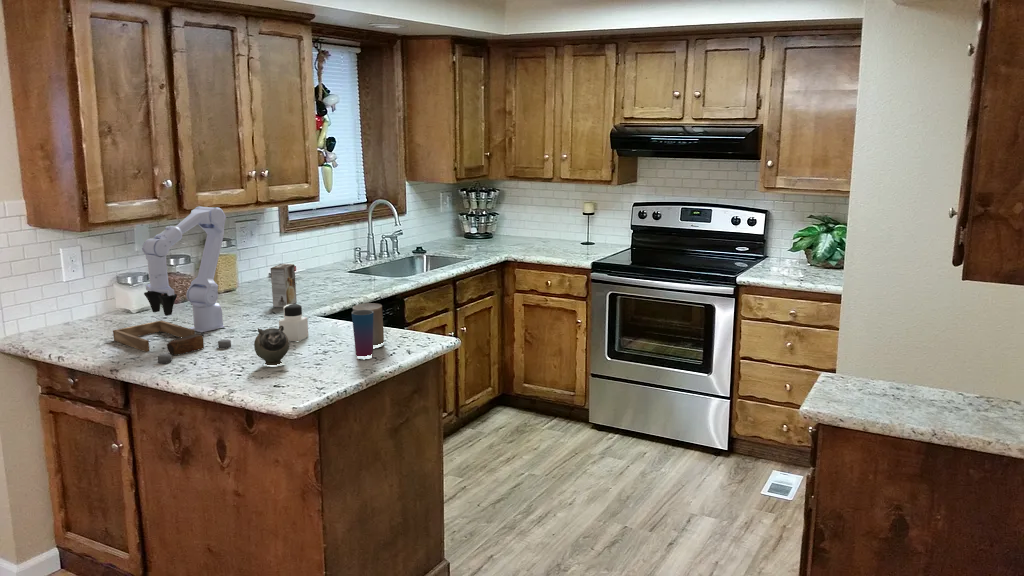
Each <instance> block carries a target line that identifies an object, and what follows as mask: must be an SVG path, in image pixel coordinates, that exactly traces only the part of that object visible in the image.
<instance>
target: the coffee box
mask: <svg viewBox="0 0 1024 576" xmlns="http://www.w3.org/2000/svg"><path fill="white" fill-rule="evenodd" d="M295 270H296V269H295V264H293V263H292V264H291V263H290V264H289V263H279V264H278V265H275V266H272V267H270V279H271V280H270V281H271V293H272V294H271V295H272V307H274V308H283V307H284V306H286V305H289V304H297V301H298V300H297V285H296V284H297V283H296V273H295Z"/></svg>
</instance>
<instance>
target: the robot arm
mask: <svg viewBox="0 0 1024 576" xmlns="http://www.w3.org/2000/svg"><path fill="white" fill-rule="evenodd" d="M226 220H227V216H226V214H225V212H224V211H223V209H222V208H220V207H211V206H209V207H208V206H201V205H200V206H196V207H195V208H194V209H191V212H190V213H189V214H188V215H187V216H186V217H185V218H184V219H182V220H181V221H180V222H179V223H178V224H177V225H175V226H174V225H167V226H165V228H164V229H163V231H162V230H161V232H160V233H157V234H155V235H154V236H153V238H152V237H151V238H147V239H146V240H145V241H144V243H143V245H142V247H141V249H142V253H143V254H144V255H145V259H146V260H147V268H148V270H147V271H148V276H149V277H148V278H149V283H148V284H145V290H146V291H144V292H143V295H144V296H145V297H146V299H147V301H148V303H149V305H150V309H151V311H152V313H158V312H160V310H161V306H162V309H163V314H164V316H166V317H168V316H172V315H173V309H174V304H175V301H176V299H177V297H178V294H176V293H175V289H174V288H172V287H171V286H170V284H169V274H168V266H167V265H168V264H167V255H168V254H169V252H170V249H171V248H172V247H173V246H174V245H176V244H177V243H178V242H180V241H181V240H182V239H183V235H184V234H185V233H187V232H188V231H190V230H192V229H193V228H195V227H196V226H199V227H200V228H201V229H202V231H204V232H205V233H206V239H205V242H204V247H203V252H202V256H201V260H200V264H199V269H198V273H197V276H196V277H195V278H194V279H193V280H191V282H190V285H189V287H188V289H187V291H186V293H185V294H186V300H187V301H188V302H189V303H190V306H191V307H192V315H193V317H192V318H193V326H192V327H191V326H190V327H189V329H192V330H194V331H195V332H198V333H206V332H209V331H213V330H214V331H215V330H218V329H222V328H225V325H224V321H223V320H224V319H223V318H224V317H223V309H222V306H221V305H220V303H219V302H217V301H218V298H219V292H218V288H219V285H218V284H217V282H216V281H215V280H214V279H215V274H216V271H217V266H218V263H219V257H220V253H221V248H222V245H223V244H222V243H223V240H224V235H225V223H226Z"/></svg>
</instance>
